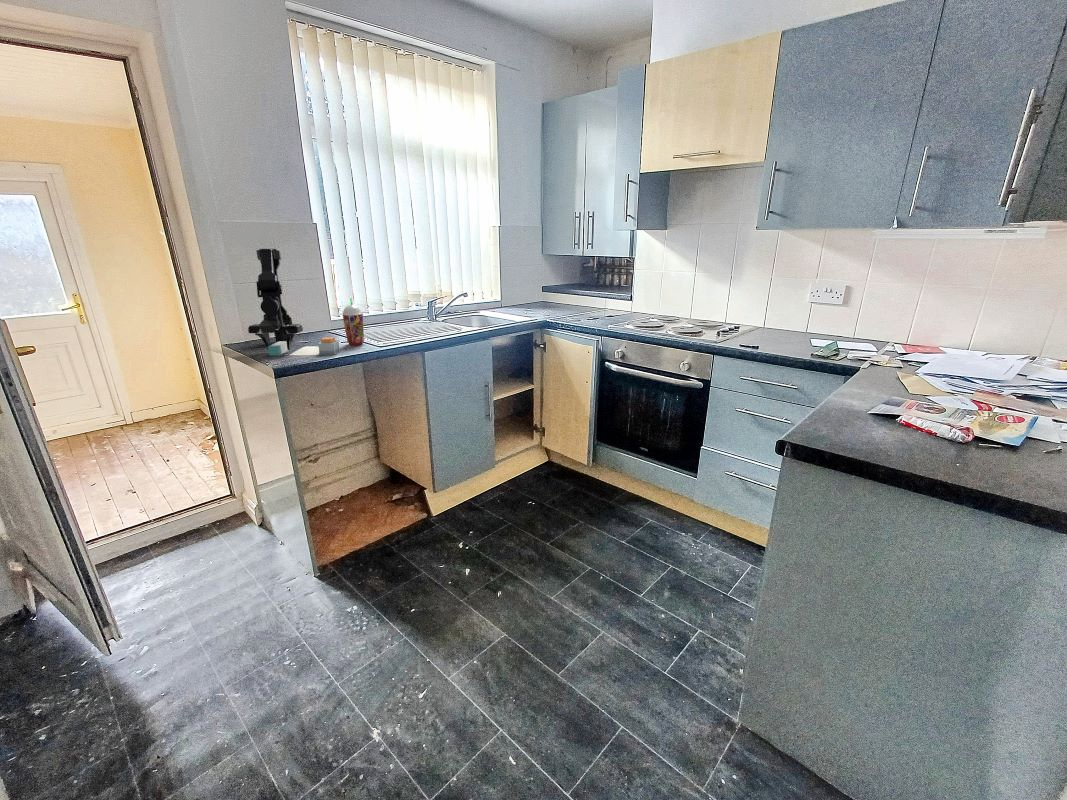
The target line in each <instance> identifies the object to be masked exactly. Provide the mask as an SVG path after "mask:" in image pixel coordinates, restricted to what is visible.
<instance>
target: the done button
mask: <svg viewBox="0 0 1067 800" xmlns="http://www.w3.org/2000/svg"><path fill="white" fill-rule="evenodd" d="M335 338H336V337H335V336H333V337H332V336H330V337H329V336H326V337H322V338H321V339H320V342H321V343H334V342H335V340H336V339H335Z"/></svg>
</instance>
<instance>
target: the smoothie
mask: <svg viewBox="0 0 1067 800" xmlns="http://www.w3.org/2000/svg"><path fill="white" fill-rule="evenodd" d="M349 301H350V304H349V305H347V306H346V307H344V309H343V312H342V320H343V324H344V329H345V336H346V337H345V338H346V341H347V343H348V345H349V346H353V347H357V346H362V345H364V341H365V333H364V313H363V311H362V310H361V308H360V307H359V306H358V305H356V304H353V299H352V297H351V298H350V300H349Z"/></svg>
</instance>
